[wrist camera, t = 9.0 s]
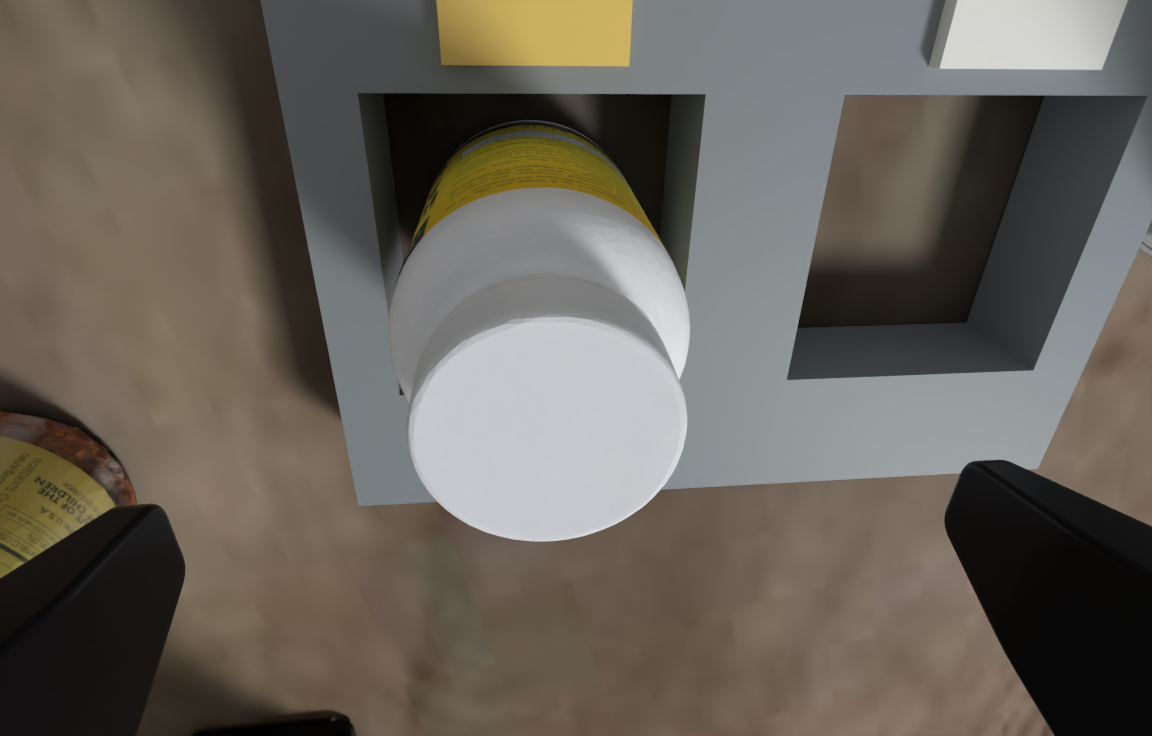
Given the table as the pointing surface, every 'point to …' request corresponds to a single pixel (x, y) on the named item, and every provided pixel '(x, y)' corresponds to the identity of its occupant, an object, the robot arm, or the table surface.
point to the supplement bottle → (539, 338)
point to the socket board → (753, 208)
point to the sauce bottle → (51, 485)
